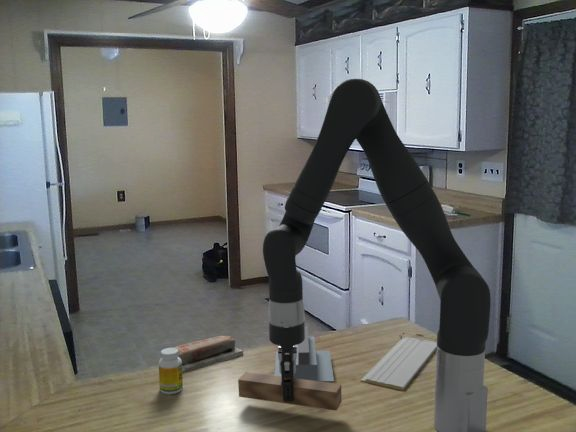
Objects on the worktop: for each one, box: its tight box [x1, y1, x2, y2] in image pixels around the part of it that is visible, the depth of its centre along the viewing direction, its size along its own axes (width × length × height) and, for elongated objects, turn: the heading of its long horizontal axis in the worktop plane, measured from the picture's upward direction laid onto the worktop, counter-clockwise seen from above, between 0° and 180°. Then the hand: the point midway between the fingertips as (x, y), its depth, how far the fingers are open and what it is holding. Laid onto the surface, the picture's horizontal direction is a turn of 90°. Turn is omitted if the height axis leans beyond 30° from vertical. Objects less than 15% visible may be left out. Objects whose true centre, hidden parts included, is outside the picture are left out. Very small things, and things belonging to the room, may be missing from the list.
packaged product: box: [172, 335, 244, 373], centre depth 156 cm, size 18×5×10 cm
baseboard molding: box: [360, 332, 437, 391], centre depth 152 cm, size 31×3×12 cm
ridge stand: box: [273, 325, 335, 383], centre depth 145 cm, size 14×18×9 cm
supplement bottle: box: [158, 347, 184, 395], centre depth 137 cm, size 5×5×10 cm
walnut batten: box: [237, 371, 343, 412], centre depth 126 cm, size 22×4×4 cm, turn 70°
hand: (288, 394), depth 127 cm, fingers closed on walnut batten, 5 cm apart
